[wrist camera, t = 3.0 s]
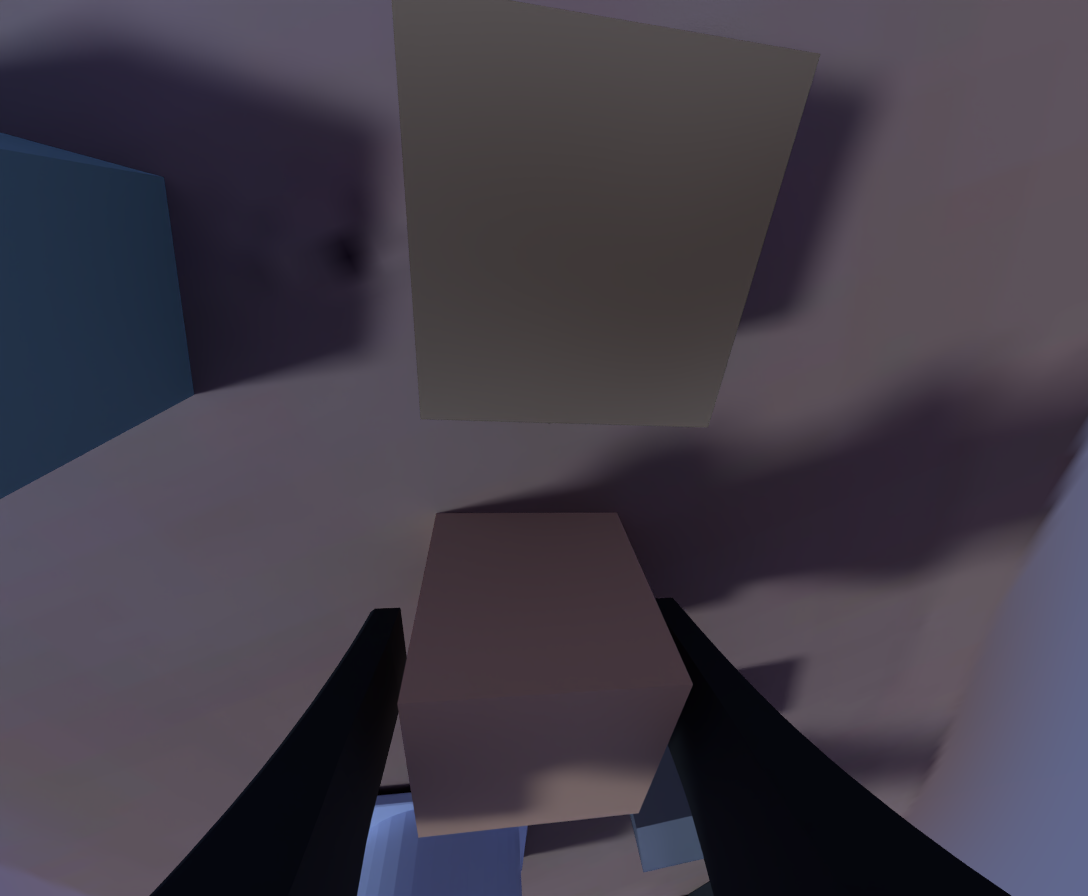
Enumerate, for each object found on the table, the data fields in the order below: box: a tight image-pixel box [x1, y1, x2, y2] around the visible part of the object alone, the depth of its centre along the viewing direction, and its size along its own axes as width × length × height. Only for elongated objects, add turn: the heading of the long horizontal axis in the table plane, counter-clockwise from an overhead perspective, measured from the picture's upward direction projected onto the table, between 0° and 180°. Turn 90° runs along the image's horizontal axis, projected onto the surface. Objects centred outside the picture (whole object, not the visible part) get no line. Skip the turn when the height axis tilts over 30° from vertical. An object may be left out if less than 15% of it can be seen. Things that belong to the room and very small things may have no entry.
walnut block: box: [392, 0, 820, 428], centre depth 6 cm, size 4×4×4 cm
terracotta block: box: [397, 513, 693, 838], centre depth 10 cm, size 5×5×5 cm
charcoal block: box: [630, 745, 704, 872], centre depth 15 cm, size 4×4×4 cm
